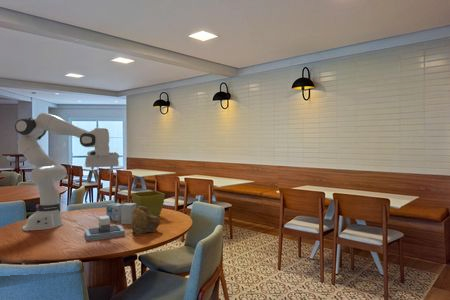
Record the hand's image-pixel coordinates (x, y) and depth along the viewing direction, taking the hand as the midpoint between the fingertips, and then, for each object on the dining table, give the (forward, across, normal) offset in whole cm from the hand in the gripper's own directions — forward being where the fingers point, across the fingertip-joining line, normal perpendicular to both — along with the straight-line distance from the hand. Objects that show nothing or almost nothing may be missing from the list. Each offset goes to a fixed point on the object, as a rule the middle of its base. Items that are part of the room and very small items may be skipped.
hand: (102, 173), depth 210 cm
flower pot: (+34, -32, -9) cm, 47 cm away
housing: (+30, +2, +24) cm, 39 cm away
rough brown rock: (+33, -21, +28) cm, 48 cm away
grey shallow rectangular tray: (+33, +2, +24) cm, 41 cm away
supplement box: (+34, -16, +2) cm, 37 cm away
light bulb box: (+34, -10, -12) cm, 37 cm away
